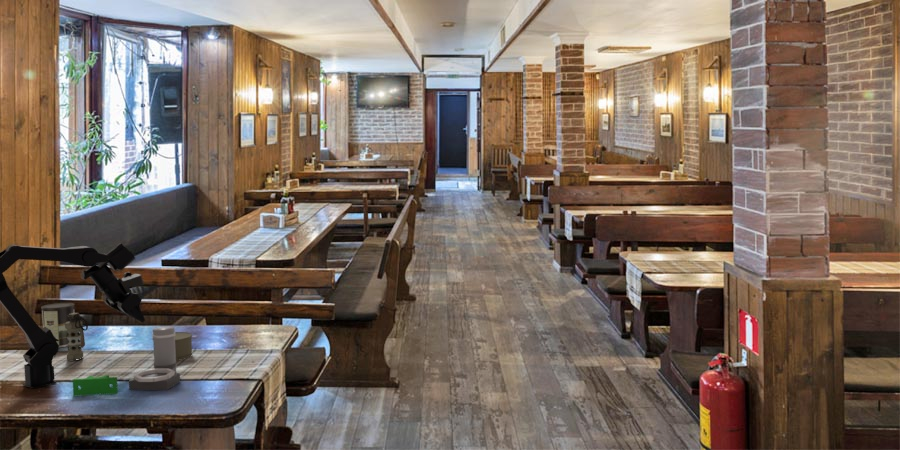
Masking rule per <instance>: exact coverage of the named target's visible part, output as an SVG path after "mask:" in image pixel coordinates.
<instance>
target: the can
mask: <svg viewBox="0 0 900 450" xmlns="http://www.w3.org/2000/svg"><path fill="white" fill-rule="evenodd" d="M192 336H193V334H192V333H191V332H187V331H185V332H184V331H175V352H176V361H180V360H179V359H182V360H185V359H184V358H186V359H188V357H189V358H191V357H192V356H193V346H192V341H193V340H192ZM191 355H192V356H191ZM190 356H191V357H190Z"/></svg>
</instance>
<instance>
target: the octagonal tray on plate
mask: <svg viewBox="0 0 900 450" xmlns="http://www.w3.org/2000/svg"><path fill="white" fill-rule="evenodd" d="M180 374H181V373H180V372H176V373H175V371H173V370H171V369H169V368H156V369H154V368H151V369H146V370H141V371H139V372H137V373H135V374H134V375H133V378H131V379H129V380H128V391H129V390H131V391H132V390H135V391H137V390H138V391H143V390H145V391H147V390H149V391H151V390H152V391H156V390H158V391H160V390H161V391H168V390H170V389H171V388H172V387H174V386H176V385H177V384H178V383H180V382H181V375H180Z"/></svg>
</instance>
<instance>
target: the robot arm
mask: <svg viewBox="0 0 900 450" xmlns="http://www.w3.org/2000/svg"><path fill="white" fill-rule="evenodd" d="M19 260H24V261H25V260H29V261H30V260H31V261H44V262H45V261H47V262H64V263H68V264H71V265H72V264H73V265H77V266H83V267H88V269H81V274H80V278H81V279H82V280H85V281H86V280H87V279H89V278H90V279H91V280H92V281H93V283H94V284H95V285H96V286H97V287H98V290H99V292H101V293H102V294H104V295H103V296H102V301H103V303H105V305H107V306H108V307H110V308H112V309H114V310H116V311H117V312H119V313H121V314H123V315H125V316H127V317H128V318H129V317H130V319H135V320H137V321H138V322H140V323H144V322H145V321H146V319H145V317H144V314H143V311H142V310H141V307H140V305H141V303H142V300H143V298H142V297H141V296H140V294H139V293H136V292H131V291H132V290H131V289H134V288H137V287H140V286H144V285H145V283H144V279H143V276H142V274H140V273H131V272H130V271H127V272H124V273H123V275H122V276H123V277H122V278H120V277H117V276H116V275H115V273H114V272H116V271H119V272H121V271H122V270H124V269H126V268H127V267H128V266H129V265H130V264H132V263H133V262H134V261H135V260H136V257H135V255H134V254H133V253H132V251H130V250H129V249H128V248H127V247H126V246H124V245H123V244H122V243H120V242H119V243H117V244H116V245H115V246H114V247H113V248H112V249H110V250H109V251H107V252H106V253H104V252H98V250H97V249H96V248H93V247H90V246H86V245H80V246H71V247H64V248H63V247H62V248H59V247H58V248H57V247H44V246H43V247H42V246H29V245H28V246H27V245H17V244H10V245H8V246H7V247H6V248H5V249H3V250H2V251H0V304H1V305H2V306H3V308H4V309H5V310H6V312H7V313H8V314H9V315H10V317H11V318H12V319H13V321H15V323H16V324H17V325H18V327H19V328H20V329H21V331H22V332H23V333H24V335H25V338H26V340H27V343H28V345H29V346H30V348H28V350H26V352H24V354H23V356H22V358H23V359H24V362H25V363H26V364H24V365H23V366H24V367H23V369H24V382H23V383H22V384H21V385H22V386H24V387H27V388H30V389H37V388H42V387H45V386H49V385H55V384H56V383H57V380H55V367H54V366H55V365H53V358H54V357H55V356H56V355H57V354H58V352H59V349H60V348H59V345H58V343H57V342H56V341H59V340H58V339H56V338H55V337H54V336H53V334H52V332H51V330H50V329H48V328H47V327H44V328H43V327H42V328H41V327H40V326H39V325H38V323H37V322H36V321H35V320H34V318H33V317H32V316H31V315H30V314H29V312H28V311H27V310H26V308H25V306H23V305H22V303H21V301H20V300H19V299H18V298H17V297H16V295H15V294H14V293H13V292H12V290H11V289H10V287H9V285H8V282H7V280H6V278H5V275H4V273H5V272H6V271H8V270H9V269H10V268H11V267H12V266H13V265H14V264H15V263H16V262H17V261H19ZM113 271H114V272H113Z"/></svg>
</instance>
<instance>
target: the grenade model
mask: <svg viewBox="0 0 900 450" xmlns="http://www.w3.org/2000/svg"><path fill="white" fill-rule="evenodd" d="M68 317H70V321H69V322H66V323H65V328H66V329H67V340H68V346H67V353H66V360H68V361H69V360H76V359H80V358H82V357H83V358H84V352H83V351H82V349H84V347H85V345H86V342H85V339H86V338H85V333H84V332H85V331H87V330H88V329H89V325H90V322H89V321H88V320H86V319H85V318H84V317H83V316H81V314H80V313H79V312H75V313H71V314H69V315H68ZM83 321H84V322H83ZM83 323H84V324H85V325H83ZM68 334H69V335H68ZM83 358H82V359H83Z"/></svg>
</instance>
